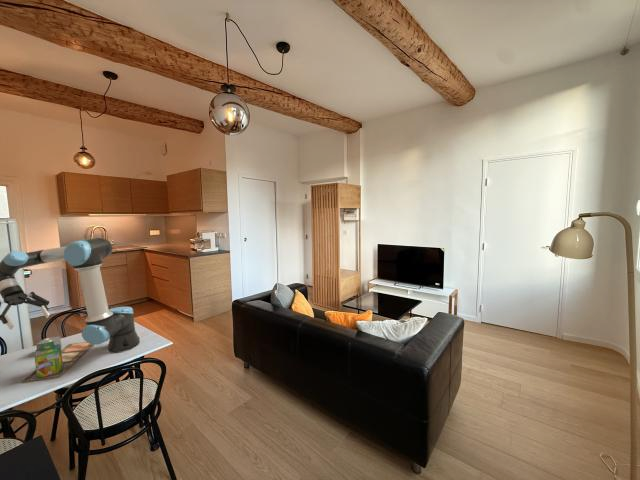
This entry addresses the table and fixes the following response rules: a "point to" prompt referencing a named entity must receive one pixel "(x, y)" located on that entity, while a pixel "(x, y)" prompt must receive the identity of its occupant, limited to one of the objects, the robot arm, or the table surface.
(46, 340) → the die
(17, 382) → the table surface
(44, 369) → the chalk box
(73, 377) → the table surface
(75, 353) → the board
